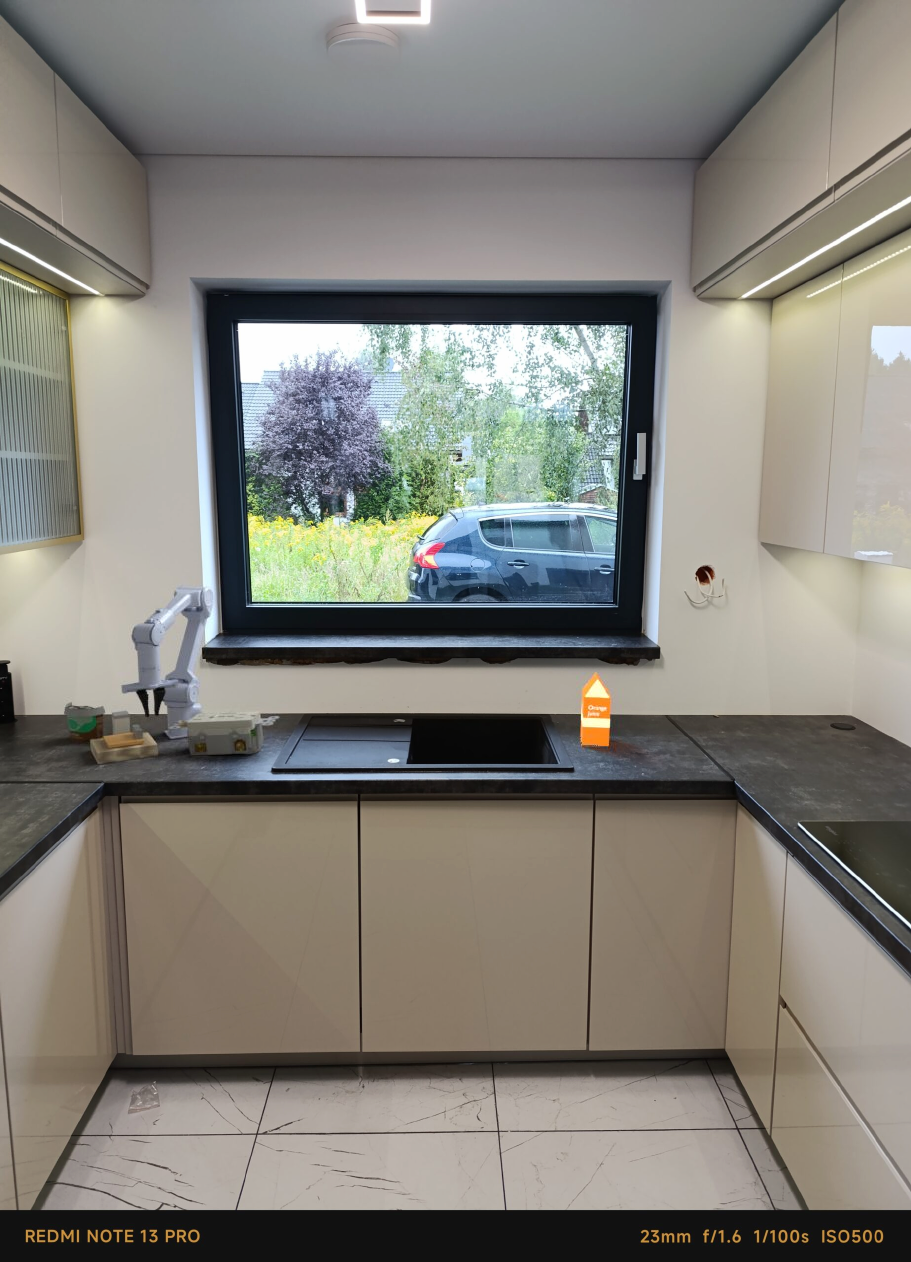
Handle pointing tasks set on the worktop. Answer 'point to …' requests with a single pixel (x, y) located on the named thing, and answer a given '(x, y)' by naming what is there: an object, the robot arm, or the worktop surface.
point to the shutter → (125, 738)
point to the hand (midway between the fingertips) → (151, 715)
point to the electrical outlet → (225, 732)
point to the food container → (84, 722)
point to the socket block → (123, 750)
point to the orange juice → (595, 713)
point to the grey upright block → (120, 722)
